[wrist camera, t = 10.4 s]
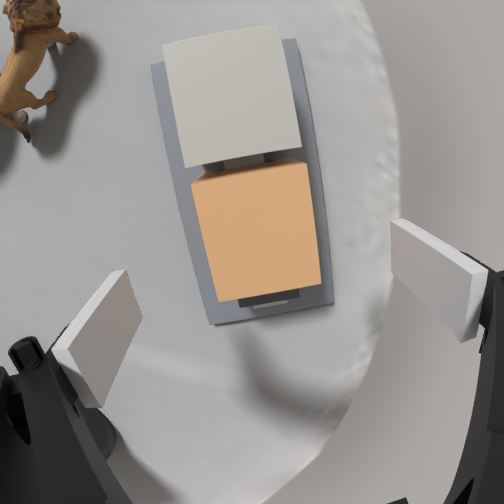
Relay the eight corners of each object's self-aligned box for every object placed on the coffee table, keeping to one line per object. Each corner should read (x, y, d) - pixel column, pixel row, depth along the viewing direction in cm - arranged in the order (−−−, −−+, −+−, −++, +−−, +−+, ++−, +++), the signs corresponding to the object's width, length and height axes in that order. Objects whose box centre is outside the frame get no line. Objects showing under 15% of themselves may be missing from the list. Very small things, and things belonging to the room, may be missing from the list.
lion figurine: (50, 5, 19) (1, -22, 11) (92, 1, 20) (47, -34, 11) (15, 140, 24) (-46, 149, 15) (53, 145, 25) (-7, 153, 16)
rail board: (210, 319, 31) (203, 372, 24) (153, 67, 23) (121, 43, 15) (330, 297, 31) (355, 345, 23) (293, 41, 23) (314, 8, 15)
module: (223, 263, 28) (218, 302, 21) (203, 172, 25) (190, 184, 19) (302, 248, 28) (321, 283, 21) (288, 156, 25) (306, 163, 19)
